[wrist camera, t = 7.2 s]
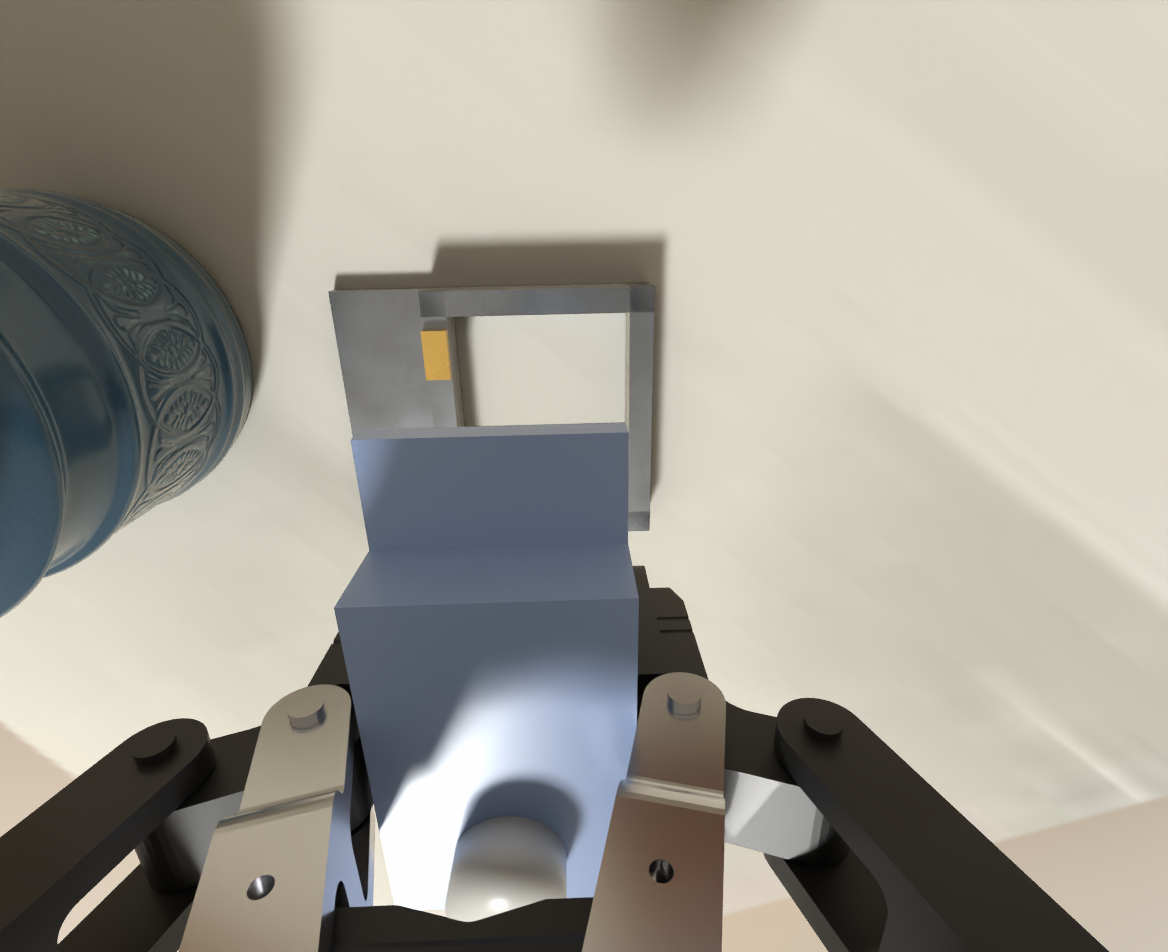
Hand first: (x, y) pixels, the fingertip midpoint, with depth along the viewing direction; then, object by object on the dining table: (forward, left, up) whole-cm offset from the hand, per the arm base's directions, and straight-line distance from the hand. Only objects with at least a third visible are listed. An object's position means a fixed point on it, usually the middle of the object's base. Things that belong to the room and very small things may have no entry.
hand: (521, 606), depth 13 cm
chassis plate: (+2, 0, -16) cm, 16 cm away
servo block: (0, 0, -1) cm, 1 cm away
